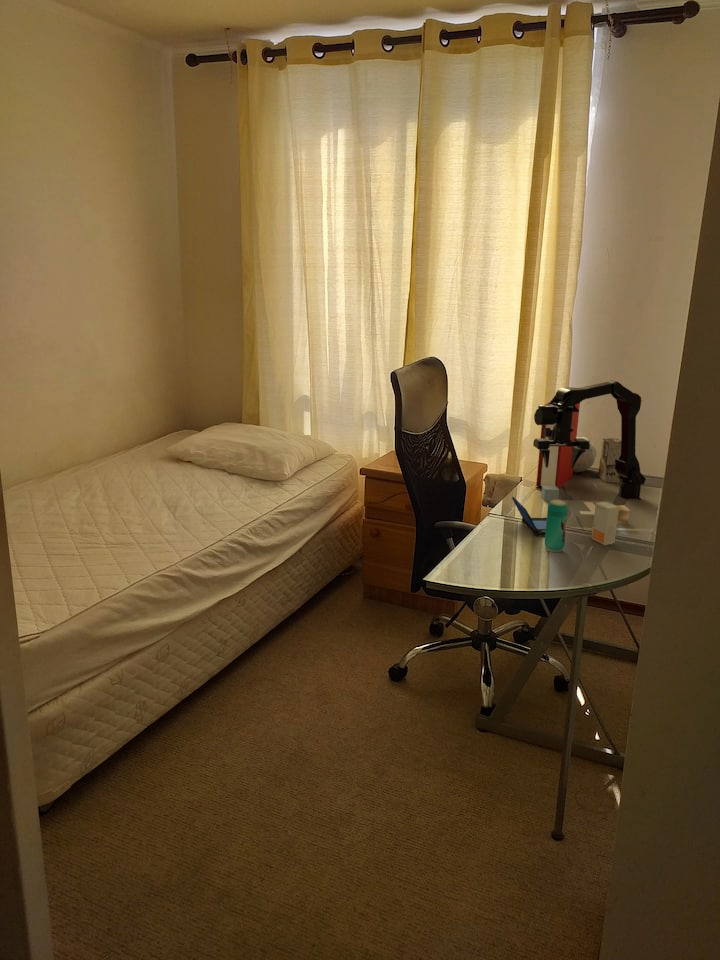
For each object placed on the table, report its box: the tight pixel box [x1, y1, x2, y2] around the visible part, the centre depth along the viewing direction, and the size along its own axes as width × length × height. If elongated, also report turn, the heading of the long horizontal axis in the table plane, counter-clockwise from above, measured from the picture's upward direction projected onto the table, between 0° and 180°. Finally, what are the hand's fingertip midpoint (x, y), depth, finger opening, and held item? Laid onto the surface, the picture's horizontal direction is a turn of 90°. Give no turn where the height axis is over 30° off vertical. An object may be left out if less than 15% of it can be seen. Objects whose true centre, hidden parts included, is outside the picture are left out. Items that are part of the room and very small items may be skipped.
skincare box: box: [591, 502, 619, 546], centre depth 228 cm, size 6×4×12 cm
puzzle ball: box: [573, 435, 597, 473], centre depth 309 cm, size 15×15×15 cm
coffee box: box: [598, 437, 621, 483], centre depth 298 cm, size 9×6×16 cm
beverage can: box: [544, 498, 569, 553], centre depth 220 cm, size 6×6×15 cm
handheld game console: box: [511, 496, 547, 537], centre depth 239 cm, size 16×13×9 cm
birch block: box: [615, 504, 631, 525], centre depth 246 cm, size 6×6×6 cm
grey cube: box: [541, 486, 560, 502], centre depth 270 cm, size 5×5×5 cm
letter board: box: [563, 499, 616, 517], centre depth 261 cm, size 18×18×1 cm
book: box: [535, 401, 581, 490], centre depth 292 cm, size 27×8×32 cm, turn 152°
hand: (559, 467), depth 264 cm, fingers open, 9 cm apart
